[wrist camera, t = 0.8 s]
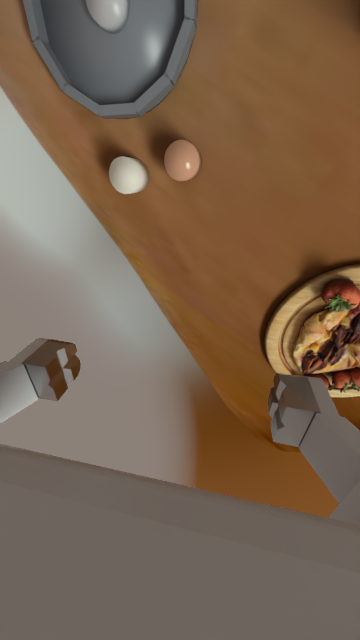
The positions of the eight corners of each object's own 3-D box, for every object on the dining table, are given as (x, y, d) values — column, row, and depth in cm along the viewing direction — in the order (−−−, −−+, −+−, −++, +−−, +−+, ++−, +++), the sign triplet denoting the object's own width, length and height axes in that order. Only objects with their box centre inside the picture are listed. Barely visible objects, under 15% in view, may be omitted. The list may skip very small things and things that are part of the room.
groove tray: (53, -215, 24) (32, -261, 22) (235, -66, 27) (235, -91, 24) (25, 64, 36) (10, 56, 34) (152, 150, 39) (146, 148, 36)
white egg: (127, 152, 39) (115, 149, 35) (153, 169, 40) (144, 168, 36) (117, 182, 42) (104, 182, 38) (142, 197, 43) (132, 200, 38)
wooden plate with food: (260, 273, 46) (264, 291, 39) (472, 246, 37) (527, 262, 30) (266, 390, 61) (270, 418, 54) (418, 390, 52) (445, 423, 45)
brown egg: (180, 136, 37) (174, 131, 33) (207, 155, 38) (204, 152, 33) (166, 169, 40) (158, 169, 35) (191, 186, 40) (186, 187, 36)
